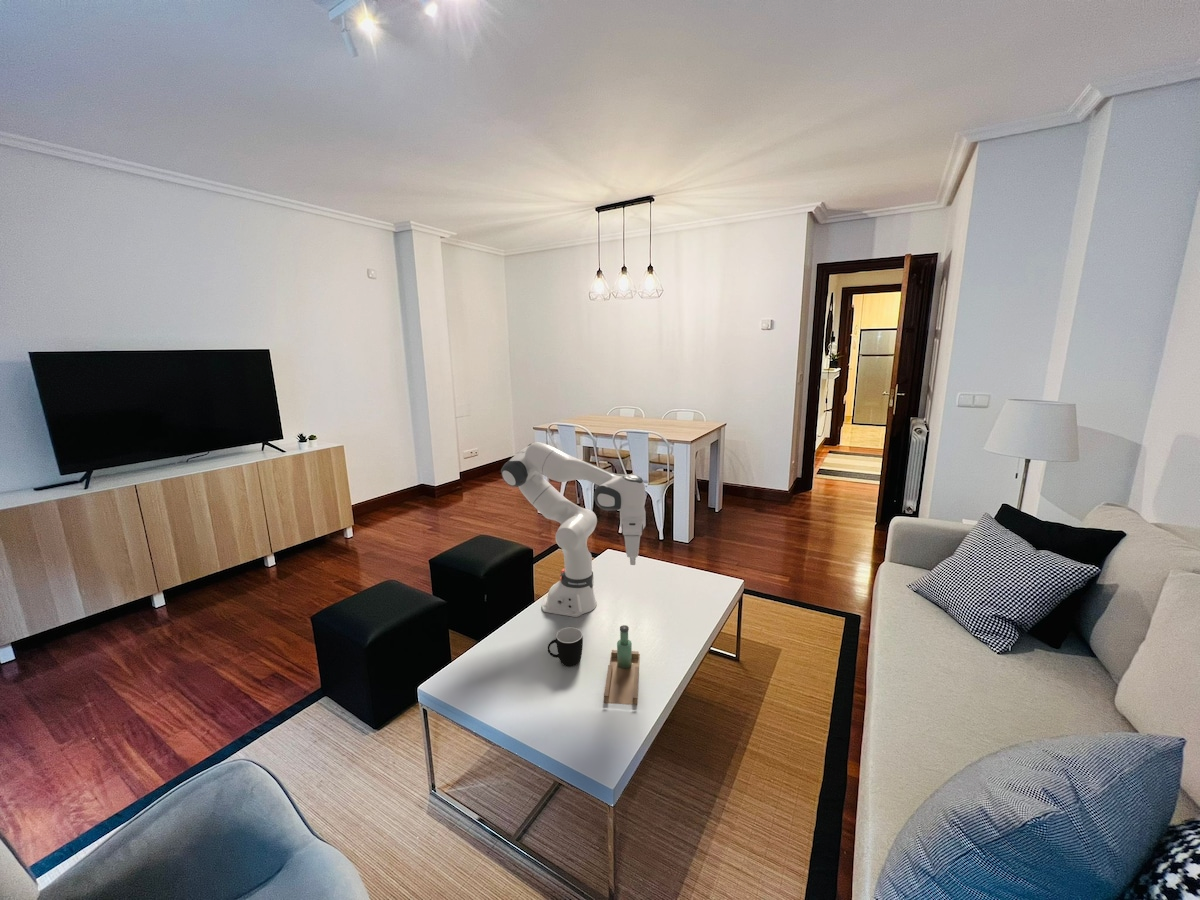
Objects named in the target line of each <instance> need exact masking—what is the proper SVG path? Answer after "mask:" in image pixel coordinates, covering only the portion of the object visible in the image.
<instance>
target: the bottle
mask: <svg viewBox="0 0 1200 900" xmlns="http://www.w3.org/2000/svg"><path fill="white" fill-rule="evenodd" d="M629 629H630V628H629V626H628V625H625V624H622V625H621V626H619V632H620V635H619V636H620V639H619V640H617V643H616V650H617V665H618V667H619V668H621V669H628V668H630V667H631V665H632V651H633V648H632V640H630V639H629Z"/></svg>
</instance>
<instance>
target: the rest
mask: <svg viewBox="0 0 1200 900" xmlns="http://www.w3.org/2000/svg"><path fill="white" fill-rule="evenodd" d="M639 652H640V651H638V650H637V651H635V650H632V665H631V667H630V668H628V669H621V668H619V667H618V665H617V649H611V652H610V660H609V664H608V666H607V670H606V671H607V672H606V678H605V685H604V692H603V703H605V704H607V703H608V704H618V705H621V704H622V705H631V706H632V705H633V706H638V697H639V678H640V659H641V653H639Z"/></svg>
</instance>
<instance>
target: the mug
mask: <svg viewBox="0 0 1200 900" xmlns="http://www.w3.org/2000/svg"><path fill="white" fill-rule="evenodd" d="M583 636H584V635H583V632H582V630H581V629H579V628H577V627H572V626H569V627H563V628H561V629H559V630H558V631H557V632H556V634H555V639H553V640H551V641H550V642H549V643H548V644H547V652H548V654H549V655H550V656H551V657H552V658H556V659H558V660H559V662H560V664H561V665H563V666H564V667H567V668H571V667H575V666H577V665H579V664H580V662H581V659H582V654H583V646H584V645H583V643H584V637H583ZM553 644H556V650H557V653H556V654H554V653H553V652H552V651H551V650H550V648H551V646H552V645H553Z"/></svg>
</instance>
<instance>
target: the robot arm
mask: <svg viewBox="0 0 1200 900" xmlns="http://www.w3.org/2000/svg"><path fill="white" fill-rule="evenodd" d="M500 473H501V479H503V481H504V483H506V484H507V485H508V486H510V487H512V488H518V489H519V491H520V493H522V495H523V496H524V497H525V498H526V500H527V501H528V502H529V503H530V504H531V505H532V506H533V507H534V508H535V509H536V511H538V513H540V514H541V515H542V516H543V517H544V518H545V519H547V520H551V521H555V522H557V523H559V524H560V526H559V527H558V528H557V531H556V533H555V537H554V538H555V543H556V544H557V545H558V547H559V548H560V549H561V550H562V554H563V559H564V560H563V561H564V568H562V569H561V571H560V576H559V580H558V581H557V582H555V583H553V585H552V586H551V587H550V588H549V590H548V593H547V595H548V596H547V595H545V596H544V598H543V600H542V603H541V611H543V612H544V613H549V614H555V615H561V616H566V617H573V618H579V617H580V616H582V615H583V614H586V613H590V612H592V611H594V609H595V608H596V607H597V600H596V596H595V592H594V583H595V582H594V572H593V558H592V557H593V556H592V553H591V552H590V551H589V548H588V545H587V544H588V543H587V542H588V539H589V537H590V535H592V533H594V531H595V529H596V526H597V523H598V518H597V515H596V513H595V512H594V511H593V510H592V509H589V508H584V507H581V506H579V505H577V504H576V503H574V502H573V501H571V500H569V499H567V498H566V497H565V496H564V495H563V494H562V493H560V491H559V490H557V488H555V487H554V486H553V485H552V484H551V483H550V482H549V481H548V480H547V479H550V481H551V480H552V481H553V482H558V483H565V482H570V481H576V480H577V481H579V480H580V481H581V480H583V481H587V482H588V481H589V482H591V483H593V484H595V485H597V487H596V488H595V490H594V493H593V498H594V499H593V500H594V502H595V504H596V506H597V507H598V508H599V509H601V510H603V511H607V512H608V511H609V512H612V511H619V526H620V527H621V531H622V535H623V537H624V544H625V546H624V547H625V554H626V556H627V558H629V564H630V566H635V565H636V558H638V556H639V551H640V541H641V536H642V535H643V531H644V529H645V528H646V526H647V525H646V524H647V523H646V521H647V520H646V514H647V513H646V508H645V505H646V487H645V482H644V480H643V478H642V477H640V476H639V475H637V474H631V473H629V474H628V473H626V474H621V473H615V472H612V471H609V470H607V469H604V468H602V467H599V466H597V465H595V464H592V463H590V462H589V461H588V462H587V461H586V460H585V461H584V460H583V459H580V458H577V457H575V456H572V455H570V454H568V453H566V452H564V451H562V450H560V449H558V448H556V447H554V446H552V445H549V444H547V443H544V442H540V441H534V442H532V443H530V444H528V445H527V446H526V447H524V448H522V449H521V450H519V451H518V452H516V454H515V455H513V456H512V457H511V458H510V459H509V460H508V461H507V462H505V463H504V464H503V466H502V467H501V469H500ZM545 477H546V478H547V479H545Z"/></svg>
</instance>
